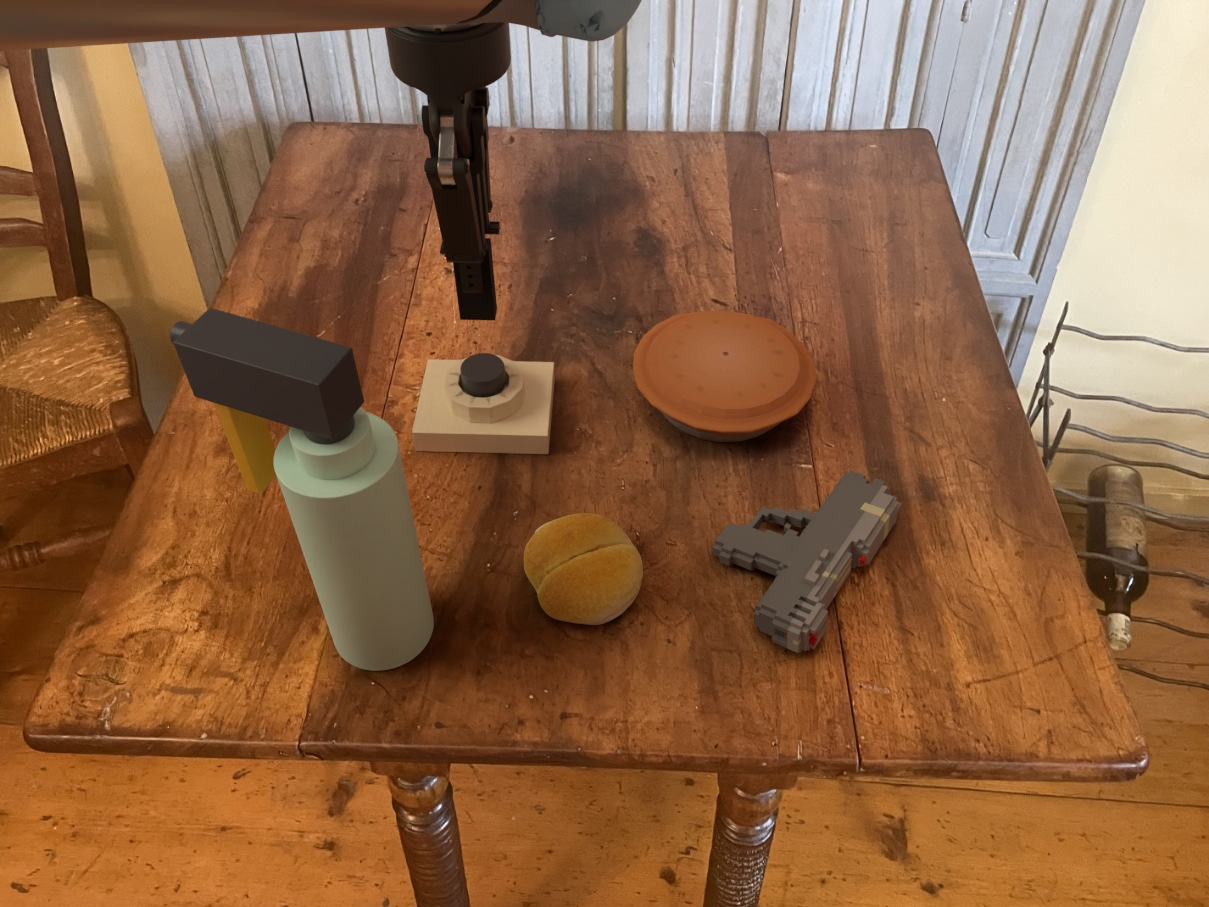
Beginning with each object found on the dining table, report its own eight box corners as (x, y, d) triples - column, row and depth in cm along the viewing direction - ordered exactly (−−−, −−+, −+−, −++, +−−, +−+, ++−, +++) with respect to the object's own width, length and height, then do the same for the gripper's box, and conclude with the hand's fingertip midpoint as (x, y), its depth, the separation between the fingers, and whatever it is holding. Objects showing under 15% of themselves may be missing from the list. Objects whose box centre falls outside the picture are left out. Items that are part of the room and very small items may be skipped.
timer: (415, 451, 81) (408, 416, 78) (430, 377, 87) (425, 343, 84) (548, 454, 81) (547, 419, 78) (554, 380, 87) (553, 346, 84)
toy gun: (680, 575, 70) (809, 631, 65) (785, 444, 79) (905, 484, 74) (683, 608, 72) (808, 665, 67) (784, 477, 81) (901, 518, 76)
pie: (826, 458, 81) (838, 415, 77) (638, 465, 80) (641, 421, 77) (791, 337, 92) (799, 294, 88) (625, 342, 91) (626, 299, 87)
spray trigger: (246, 490, 61) (211, 400, 55) (269, 464, 62) (237, 373, 57) (260, 495, 60) (226, 404, 55) (282, 468, 62) (252, 377, 56)
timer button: (459, 397, 80) (457, 381, 79) (465, 368, 83) (463, 352, 81) (503, 398, 80) (502, 382, 79) (507, 369, 83) (506, 353, 81)
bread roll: (557, 646, 68) (555, 614, 66) (512, 552, 74) (509, 518, 71) (663, 606, 71) (666, 573, 68) (612, 518, 76) (613, 484, 73)
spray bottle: (249, 628, 69) (129, 358, 51) (305, 554, 74) (212, 282, 56) (403, 684, 66) (332, 420, 48) (451, 604, 71) (403, 334, 53)
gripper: (496, 56, 55) (520, 371, 72) (516, -36, 64) (533, 264, 81) (362, 53, 55) (417, 369, 72) (400, -38, 64) (441, 262, 81)
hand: (478, 313), depth 76 cm, fingers closed
